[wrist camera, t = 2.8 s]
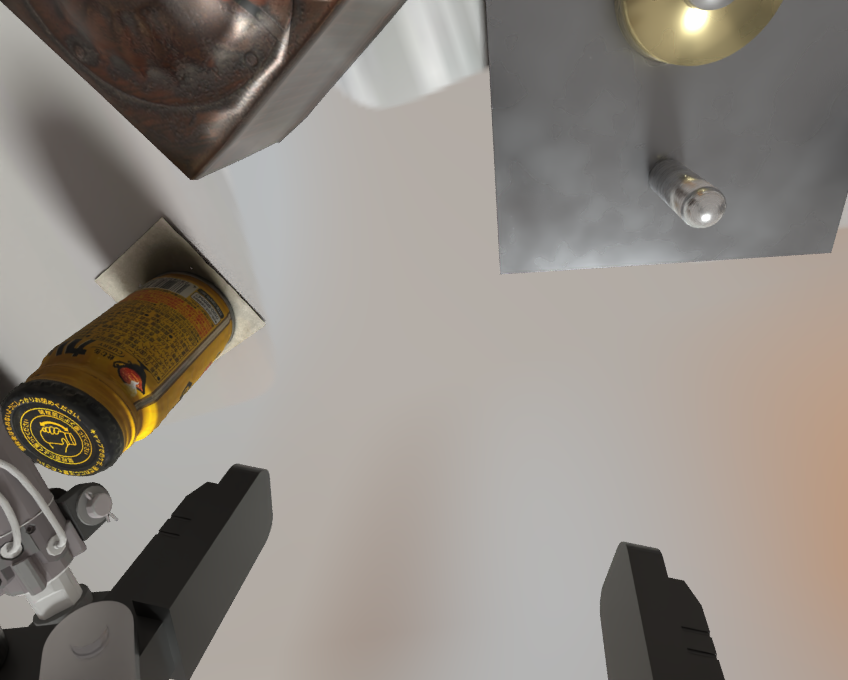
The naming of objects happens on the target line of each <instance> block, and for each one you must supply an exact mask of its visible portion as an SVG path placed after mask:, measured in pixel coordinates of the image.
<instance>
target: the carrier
mask: <svg viewBox="0 0 848 680" xmlns="http://www.w3.org/2000/svg"><path fill="white" fill-rule="evenodd" d="M486 13H487V32H488V51H489V70H490V88H491V108H492V126H493V145H494V164H495V183H496V200H497V201H496V202H497V221H498V240H499V259H500V274H510V273H527V272H542V271H557V270H573V269H588V268H604V267H619V266H633V265H649V264H666V263H681V262H696V261H712V260H727V259H743V258H756V257H773V256H788V255H804V254H818V253H819V254H820V253H831V251H832V248H833V244H834V240H835V237H836V233H837V230H838V226H839V222H840V219H841V215H842V212H843V208H844V205H845V201H846V197H847V194H848V0H486Z"/></svg>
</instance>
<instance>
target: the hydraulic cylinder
mask: <svg viewBox="0 0 848 680" xmlns="http://www.w3.org/2000/svg"><path fill="white" fill-rule="evenodd" d="M111 508H112V500H111V497H110V495H109V493H108V491H107V490H106V489H105V488H104V487H103V486H102V485H100V484H98V483H94V482H92V483H84V484H78V485H76V486H74V487H73V488H71V489H70V490H69V491H65V490H63V489H61V488H51V489H48V488H47V485H46V484H45V482H44V480H43V479H42V477H41V475H40V473H39V472H38V470H37V468H36V467H35V465H34V463H33V461H32V460H31V458H30V457H28V456H26V454H24V453H23V452H22V451H21V450H20V449H19V448H18V447H17V446H16V445H15V444H14V442H13V441H12V439H11V438H10V436H9V435H8V433H7V431H6V429H5V426H4V424H3V420H2V414H1V406H0V596H1V595H3V594H5V593H6V594H7V595H9V596H16V595H17V596H20V595H24V596H25V597H26V599H27V601H28V602H29V604H30V605H31V607H32V608H33V610H34V612H35V615H34V617H33V622H32V623H31V624H30V625H29V627H32V626H42V625H51V624H57V623H60V622H61V621H62V620H63V619H64V618H66V617H67V616H68V615H69V614H71V613H73V612H74V611H76V610H77V609H79V608H81V607H83V606H86V605H89V604H91V603H95V602H100V601H102V600H103V599H104V598H105V597H106V596H107V595H108V593H109V592H110V591H104V592H91V591H90V590H89V588H88V587H87V586H86V585H84V584H79V583H78V582H77V580H76V578H75V577H74V575H73V573H72V572H71V570H70V568H69V567H68V566H69V565H70V563H71V561H72V560H73V557H75V556H77V555H78V554H80V553H82V552H84V551H85V550H86V545H85V543H84V542H83V541H85V540H87V539H88V538H89V537H90V536H91V535H92V534H93V533H94V532H95V531H96V530H97V529H98V528H99V527H100V526H101V525H102V524H103V523H104V522H105V521H106V520H107V522H110V520H109V515H110V516H111V517H112V518H114V519H115V520H116V521H117V520H118V518H116V516H114V515H113V514H112V513H111V512H110V510H111Z"/></svg>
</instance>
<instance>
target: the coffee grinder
mask: <svg viewBox="0 0 848 680" xmlns="http://www.w3.org/2000/svg"><path fill="white" fill-rule="evenodd" d="M0 1H1V2H2V3H3V4H4V5H5V6H6V7H7V8H8V9H10V10H11V11H12V12H13V13H14V14H15V15H16V16H17V17H18V18H19V19H20V20H21V21H22V22H23V23H24V24H26V25H27V26H28V27H29V28H30V29H31V30H32V31H33V32H34V33H35V34H36V35H37V36H38V37H39V38H40V39H41V40H43V41H44V42H45V43H46V44H47V45H48V46H49V47H50V48H51V49H52V50H53V51H54V52H55V53H57V54H58V55H59V56H60V57H61V58H62V59H63V60H64V61H65V62H66V63H67V64H68V65H69V66H71V67H72V68H73V69H74V70H75V71H76V72H77V73H78V74H79V75H80V76H81V77H82V78H83V79H85V80H86V81H87V82H88V83H89V84H90V85H91V86H92V87H93V88H94V89H95V90H96V91H97V92H98V93H100V94H101V95H102V96H103V97H104V98H105V99H106V100H107V101H108V102H109V103H110V104H111V105H112V106H113V107H114V108H115V109H116V110H118V111H119V112H120V113H121V114H122V115H123V116H124V117H125V118H126V119H127V120H128V121H129V122H130V123H131V124H132V125H133V126H134V127H135V128H136V129H138V130H139V131H140V132H141V133H142V134H143V135H144V136H145V137H146V138H147V139H148V140H149V141H150V142H151V143H152V144H153V145H154V146H155V147H156V148H158V149H159V150H160V151H161V152H162V153H163V154H164V155H165V156H166V157H167V158H168V159H169V160H170V161H171V162H172V163H173V164H174V165H175V166H177V167H178V168H179V169H180V170H181V171H182V172H183V173H184V174H185V175H186V176H187V177H188V178H189V179H190V180H198V179H200V178H202V177H204V176H206V175H208V174H211V173H213V172H215V171H217V170H219V169H222V168H224V167H226V166H228V165H231V164H233V163H235V162H237V161H239V160H242V159H244V158H246V157H248V156H250V155H252V154H254V153H256V152H258V151H260V150H262V149H264V148H266V147H268V146H270V145H272V144H274V143H277V142H281V141H282V140H283V139H284V138H285V137H286V136H287V135H288V134H289V133H290V132H291V131H292V130H294V129H295V128H296V127H297V126H298V125H299V124H300V123H301V122H302V121H303V120H304V119H305V118H306V117H307V116H308V115H309V114H310V113H311V111H312V110H313V109H314V108H315V106H316V105H317V104H318V103H319V102H320V101H321V100H322V98H323V97H324V96H325V95H326V93H328V91H329V90H330V89H331V88H332V87H333V86H334V85H335V83H336V82H337V81H338V80H339V79H340V78H341V77H342V75H343V74H344V73H345V72H346V71H347V70H348V69H349V67H350V66H351V65H352V64H353V63H354V62H355V61H356V59H357V58H358V57H359V56H360V55H361V54H362V52H363V51H364V50H365V49H366V48H367V47H368V46H369V44H370V43H371V42H372V41H373V40H374V39H375V38H376V36H377V35H378V34H379V33H380V32H381V31H382V29H383V28H384V27H385V26H386V25H387V23H388V22H389V21H390V20H391V19H392V18H393V16H394V15H395V14H396V13H397V12H398V10H399V9H400V8H401V7H402V6H403V4H404V3H405V2H406V1H407V0H0Z"/></svg>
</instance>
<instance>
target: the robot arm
mask: <svg viewBox="0 0 848 680" xmlns="http://www.w3.org/2000/svg"><path fill="white" fill-rule="evenodd" d="M272 519H273V513H272V500H271V489H270V477H269V472H268V471H267V470H266V469H261V468H256V467H251V466H246V465H241V464H234V465H233V466H232V467H231V468H230V469H229V470H228V471H227V473H226V474H225V475H224V477H223V478H222V479H221V481H220V482H219V484H216V483H211V482H206V483H205V484H203V485H202V486H201V487H199V488H198V489H196V490H195V491H193V492H192V493H191V494H189V495H187V496H186V497H185V499H184V500H183V501H182V502H181V503H180V505H179V506H178V507H177V508H176V510H175V511H174V512H173V513H172V515H171V518H170V519H168V520H167V521H166V522H165V523H164V525H163V526H162V527H161V529H160V530H159V533H158V534H157V535H155V536H154V537H153V539H152V540H151V541H150V542H149V544H148V545H147V546H146V547H145V549H144V550H143V551H142V553H141V554H140V555H139V556H138V557H137V559H136V560H135V561H134V562H133V564H132V565H131V566H130V567H129V569H128V570H127V571H126V572H125V574H124V575H123V576H122V577H121V579H120V580H119V581H118V582H117V584H116V585H115V586H114V587H113V589H112V590H111V591H110V592H109V593H108V595H107V596H106V597H105V598H104V599H103V600H102V601H100V602H95V603H91V604H89V605H86V606H83V607H81V608H79V609H77V610H76V611H74V612H73V613H71V614H69V615H68V616H67V617H66V618H64V619H63V620H62V621H61V622H60V623H57V624H51V625H42V626H32V627H22V628H12V629H2V628H1V626H0V680H169V679H174V680H190V678H191V676H192V674H193V672H194V671H195V669H196V667H197V665H198V663H199V662H200V660H201V658H202V656H203V654H204V652H205V651H206V649H207V647H208V645H209V644H210V642H211V640H212V638H213V636H214V635H215V633H216V631H217V629H218V627H219V626H220V624H221V622H222V620H223V618H224V617H225V615H226V613H227V611H228V609H229V608H230V606H231V604H232V602H233V600H234V599H235V597H236V595H237V593H238V591H239V590H240V588H241V586H242V584H243V582H244V581H245V579H246V577H247V575H248V573H249V571H250V570H251V568H252V566H253V564H254V563H255V561H256V559H257V557H258V555H259V554H260V552H261V550H262V548H263V546H264V545H265V543H266V541H267V538H268V536H269V533H270V529H271V525H272ZM600 617H601V626H602V633H603V642H604V649H605V658H606V665H607V674H608V680H725V679H724V675H723V672H722V669H721V666H720V663H719V660H717V658H716V655H717V654H716V650H715V647H714V644H713V641H712V638H711V637H710V631H709V628H708V625H707V621H706V618H705V615H704V612H703V609H702V606H701V604H700V603H699V601H698V600H697V599H696V597H695V596H694V594H693V593H692V591H691V590H690V589H689V587H688V586H687V584H686V583H685V582H684V581H682V580H678V579H673V578H668V575H667V571H666V567H665V564H664V560H663V556H662V554H661V552H660V550H659V549H656V548H652V547H647V546H642V545H637V544H632V543H627V542H621V543H620V544H619V546H618V548H617V550H616V553H615V556H614V558H613V561H612V563H611V566H610V569H609V571H608V574H607V576H606V579H605V582H604V584H603V587H602V592H601V599H600Z"/></svg>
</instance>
